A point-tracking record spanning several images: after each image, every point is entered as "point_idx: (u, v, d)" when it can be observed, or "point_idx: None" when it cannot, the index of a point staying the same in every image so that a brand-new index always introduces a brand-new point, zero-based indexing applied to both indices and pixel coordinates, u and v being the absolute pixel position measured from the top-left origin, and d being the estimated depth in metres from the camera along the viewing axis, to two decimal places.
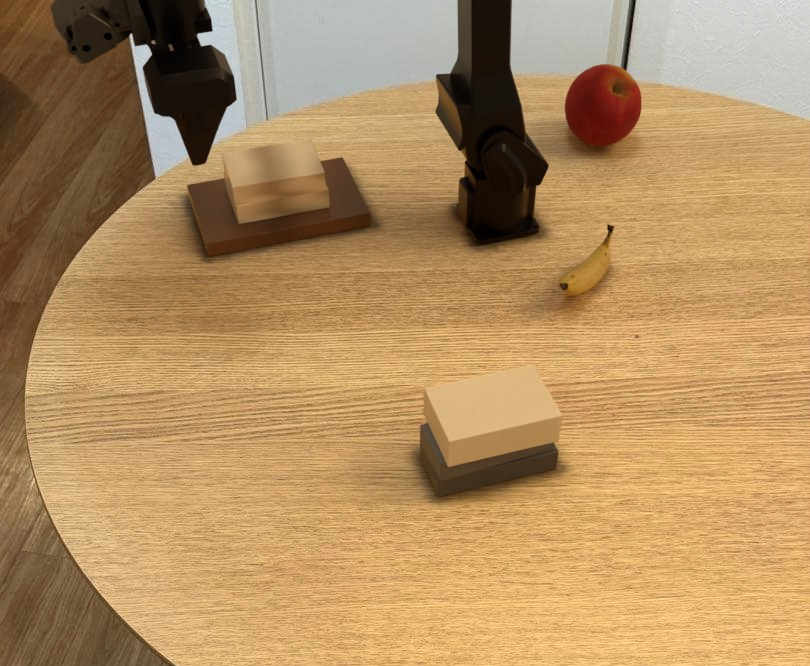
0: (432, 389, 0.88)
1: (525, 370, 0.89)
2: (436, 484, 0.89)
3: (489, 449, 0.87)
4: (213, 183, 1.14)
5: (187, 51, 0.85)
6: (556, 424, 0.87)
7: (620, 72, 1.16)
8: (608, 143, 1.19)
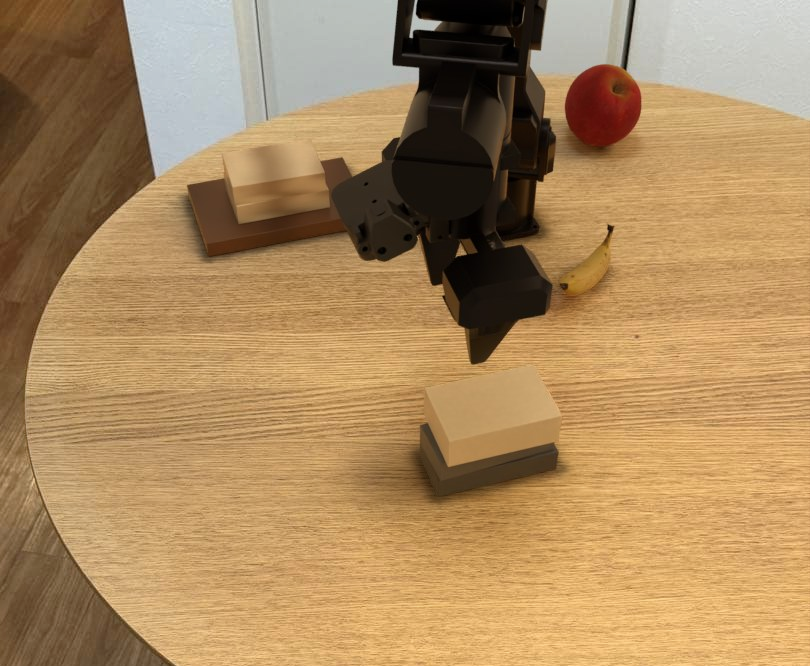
0: (432, 389, 0.88)
1: (525, 370, 0.89)
2: (436, 484, 0.89)
3: (489, 449, 0.87)
4: (213, 183, 1.14)
5: (496, 253, 0.73)
6: (556, 424, 0.87)
7: (620, 72, 1.16)
8: (608, 143, 1.19)
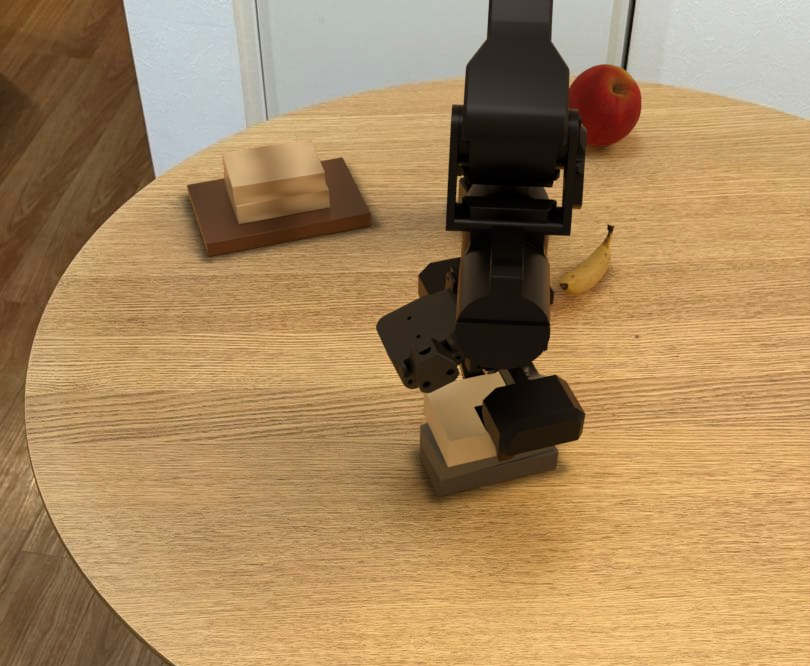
0: None
1: None
2: (436, 484, 0.89)
3: (489, 449, 0.87)
4: (213, 183, 1.14)
5: (533, 384, 0.78)
6: None
7: (620, 72, 1.16)
8: (608, 143, 1.19)
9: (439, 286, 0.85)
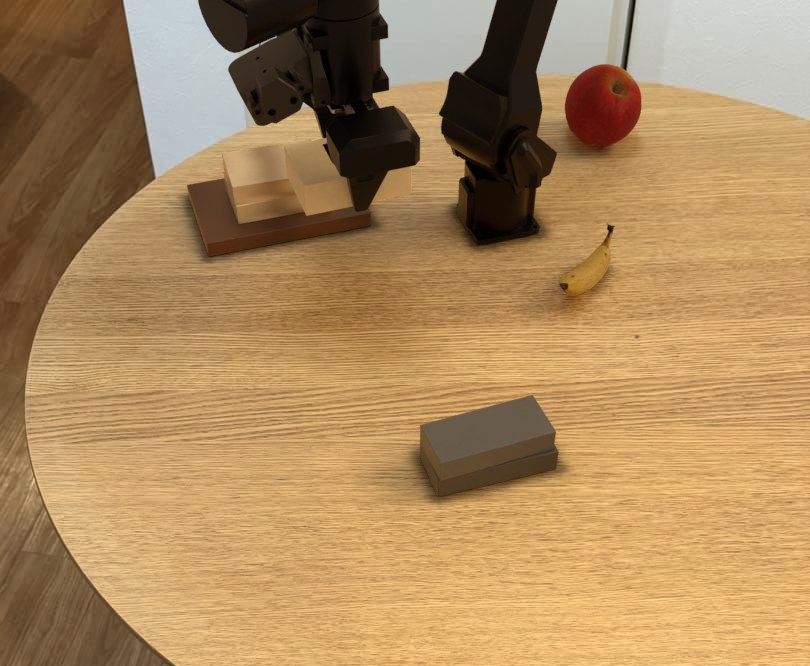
0: (291, 147, 0.94)
1: None
2: (436, 484, 0.89)
3: (344, 198, 0.93)
4: (213, 183, 1.14)
5: (371, 113, 0.85)
6: (406, 174, 0.93)
7: (620, 72, 1.16)
8: (608, 143, 1.19)
9: None
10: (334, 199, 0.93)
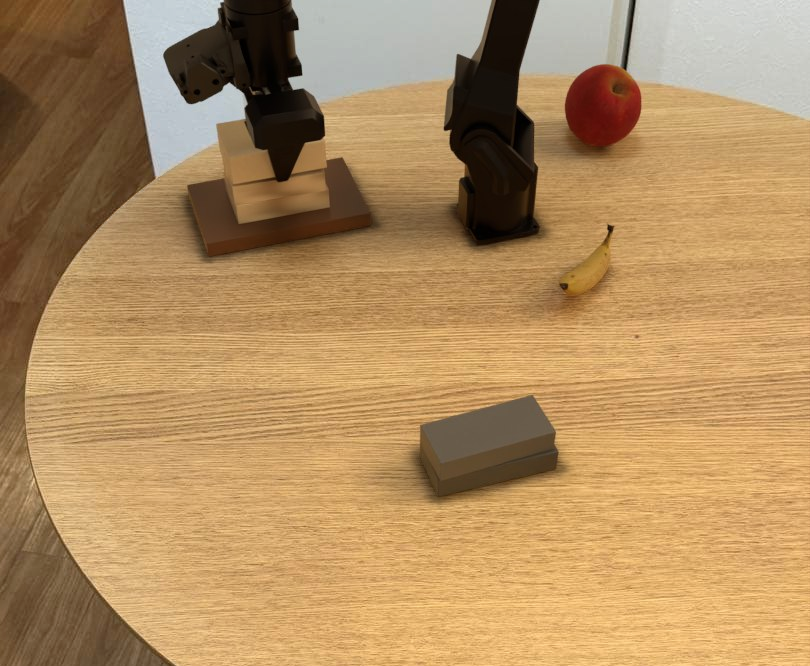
0: (222, 124, 1.08)
1: None
2: (436, 484, 0.89)
3: (266, 169, 1.06)
4: (213, 183, 1.14)
5: (283, 94, 0.98)
6: (321, 150, 1.07)
7: (620, 72, 1.16)
8: (608, 143, 1.19)
9: None
10: (257, 170, 1.06)
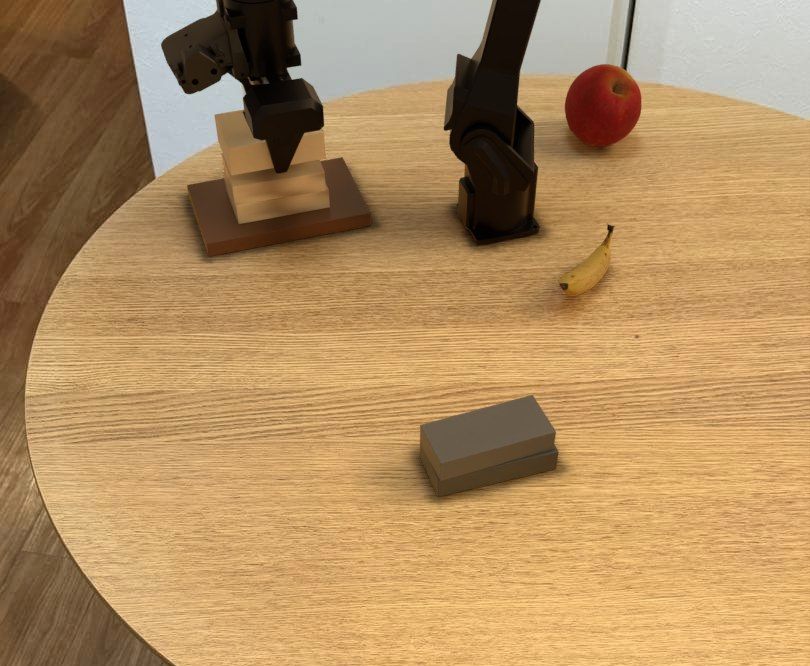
0: (221, 115, 1.07)
1: None
2: (436, 484, 0.89)
3: (265, 160, 1.06)
4: (213, 183, 1.14)
5: (282, 84, 0.97)
6: (320, 140, 1.06)
7: (620, 72, 1.16)
8: (608, 143, 1.19)
9: None
10: (255, 161, 1.06)
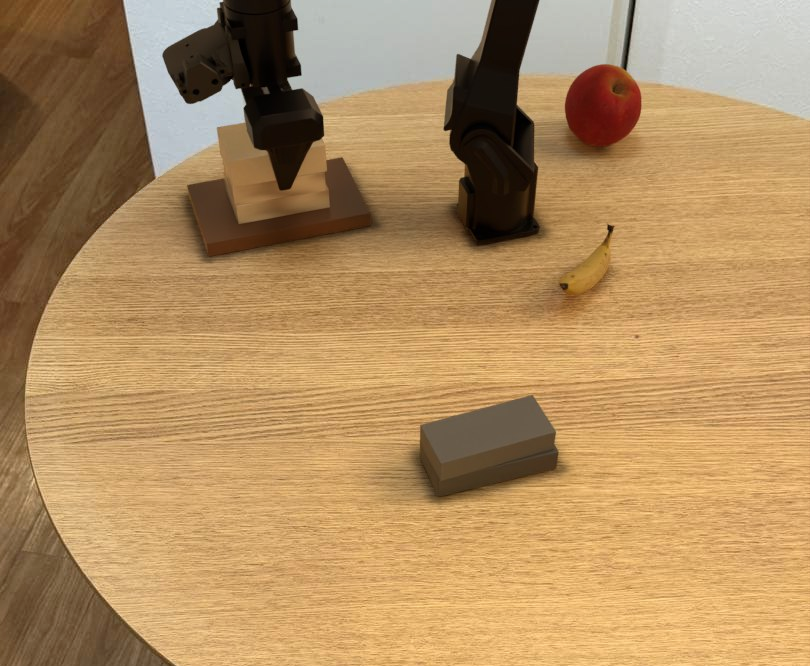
0: (223, 128, 1.08)
1: None
2: (436, 484, 0.89)
3: (266, 173, 1.07)
4: (213, 183, 1.14)
5: (282, 94, 0.98)
6: (321, 153, 1.07)
7: (620, 72, 1.16)
8: (608, 143, 1.19)
9: None
10: (257, 174, 1.07)
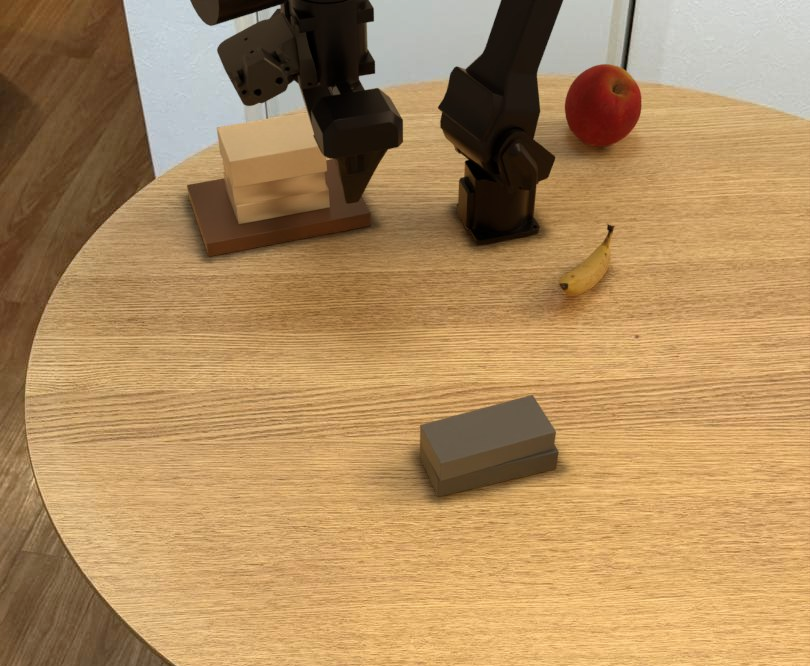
0: (223, 128, 1.08)
1: (301, 115, 1.10)
2: (436, 484, 0.89)
3: (266, 173, 1.07)
4: (213, 183, 1.14)
5: (356, 94, 0.86)
6: (321, 153, 1.07)
7: (620, 72, 1.16)
8: (608, 143, 1.19)
9: None
10: (257, 174, 1.07)
